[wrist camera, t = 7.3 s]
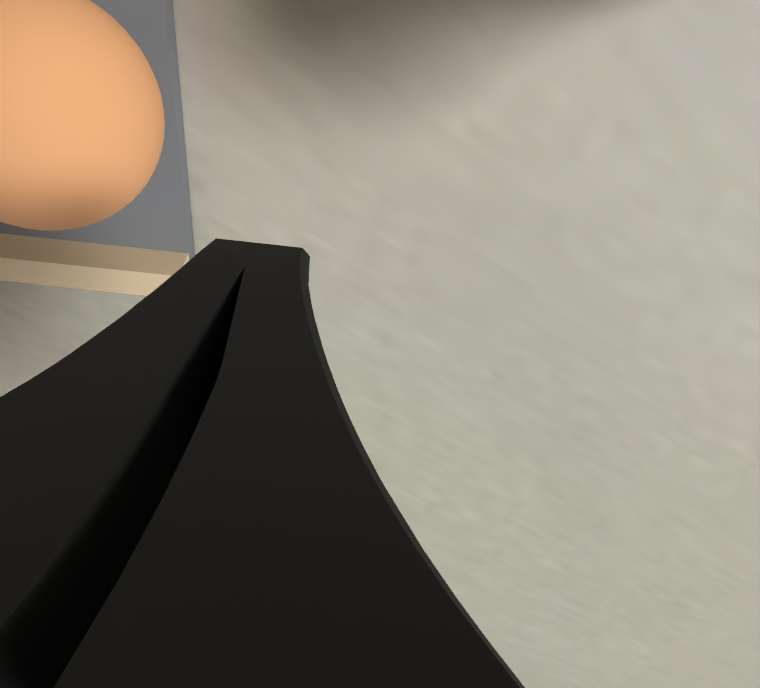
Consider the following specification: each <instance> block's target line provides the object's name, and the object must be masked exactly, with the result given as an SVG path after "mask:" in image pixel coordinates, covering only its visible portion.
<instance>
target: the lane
mask: <svg viewBox="0 0 760 688" xmlns="http://www.w3.org/2000/svg"><path fill="white" fill-rule="evenodd" d="M90 1H92V2H93V3H95V4H96V5H98V6H99V7H101V8H102V9H103V10H104V11H106V12H107V13H108V14H109V15H111V16H112V17H113V18H114V19H115V20H116V21H117V22H118V23H119V24H120V25H121V26H122V27H123V28H124V29H125V30H126V31H127V32H128V33H129V35H130V36H131V37H132V38H133V40H134V41H135V42H136V44H137V45H138V46H139V47H140V49H141V51H142V52H143V54H144V56H145V57H146V59H147V61H148V63H149V65H150V67H151V69H152V71H153V73H154V76H155V78H156V80H157V83H158V86H159V89H160V93H161V97H162V103H163V108H164V120H165V131H164V141H163V147H162V151H161V155H160V158H159V161H158V164H157V166H156V168H155V170H154V172H153V175H152V176H151V178H150V180H149V181H148V183H147V184H146V186H145V187H144V188H143V190H142V191H141V192H140V193H139V194H138V195H137V196H136V197H135V198H134V200H133V201H132V202H130V203H129V204H128V205H127V206H125V207H124V208H123V209H122V210H120V211H118V212H117V213H115V214H114V215H112V216H110V217H108V218H106V219H104V220H102V221H100V222H97V223H94V224H91V225H88V226H85V227H80V228H75V229H66V230H56V231H50V230H35V229H27V228H22V227H18V226H14V225H10V224H6V223H3V222H0V281H8V282H18V283H28V284H37V285H47V286H57V287H66V288H76V289H86V290H96V291H105V292H115V293H125V294H134V295H144V296H148V295H149V294H150V293H152V292H153V291H154V290H155V289H156V288H158V287H159V286H160V285H161V284H162V283H164V282H165V281H166V280H167V279H168V278H170V277H171V276H172V275H173V274H174V273H175V272H177V271H178V270H179V269H180V268H181V267H182V266H184V265H185V264H186V263H187V262H188V261H189V260H191V259H192V258H193V257H194V256H195V250H194V239H193V228H192V216H191V205H190V194H189V183H188V171H187V160H186V149H185V138H184V126H183V115H182V104H181V93H180V81H179V70H178V59H177V48H176V36H175V25H174V14H173V3H172V0H90Z"/></svg>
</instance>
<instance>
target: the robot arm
mask: <svg viewBox="0 0 760 688" xmlns="http://www.w3.org/2000/svg"><path fill="white" fill-rule="evenodd" d="M309 262H310V256H309V255H308V254H307V253H306V251H305V250H304V249H303V248H298V247H289V246H280V245H270V244H261V243H252V242H243V241H234V240H225V239H215V240H214V241H212V242H211V243H210V244H209V245H207V246H206V247H205V248H204V249H202V250H201V251H200V252H199V253H198V254H196V255H195V256H194V257H193V258H192V259H191V260H189V261H188V262H187V263H186V264H185V265H184V266H182V267H181V268H180V269H179V270H178V271H177V272H175V273H174V274H173V275H172V276H171V277H170V278H168V279H167V280H166V281H165V282H164V283H162V284H161V285H160V286H159V287H158V288H156V289H155V290H154V291H153V292H152V293H150V294H149V295H148V296H147V297H145V298H144V299H143V300H142V301H140V302H139V303H138V304H137V305H135V306H134V307H133V308H132V309H130V310H129V311H128V312H127V313H125V314H124V315H123V316H122V317H120V318H119V319H118V320H116V321H115V322H114V323H112V324H111V325H110V326H108V327H107V328H105V329H104V330H103V331H101V332H100V333H98V334H97V335H96V336H94V337H93V338H91V339H90V340H89V341H87V342H86V343H85V344H83V345H82V346H80V347H79V348H78V349H76V350H75V351H73V352H72V353H71V354H69V355H68V356H66V357H65V358H63V359H62V360H60V361H59V362H57V363H56V364H54V365H53V366H51V367H49V368H48V369H46V370H45V371H43V372H41V373H40V374H38V375H37V376H35V377H34V378H32V379H30V380H29V381H27V382H25V383H24V384H22V385H20V386H18V387H17V388H15V389H13V390H12V391H10V392H8V393H7V394H5V395H3V396H1V397H0V688H525V687H524V686H523V685H522V684H521V682H520V681H519V680H518V678H517V677H516V676H515V674H514V673H513V672H512V671H511V669H510V668H509V667H508V666H507V664H506V663H505V662H504V660H503V659H502V658H501V657H500V655H499V654H498V653H497V651H496V650H495V649H494V648H493V646H492V645H491V644H490V642H489V641H488V640H487V639H486V637H485V636H484V634H483V633H482V632H481V630H480V629H479V628H478V626H477V625H476V624H475V622H474V621H473V620H472V618H471V617H470V616H469V614H468V613H467V612H466V610H465V609H464V608H463V606H462V605H461V603H460V602H459V601H458V599H457V598H456V597H455V595H454V594H453V592H452V591H451V589H450V588H449V586H448V585H447V583H446V582H445V581H444V579H443V578H442V576H441V575H440V573H439V572H438V570H437V569H436V567H435V566H434V565H433V563H432V562H431V560H430V559H429V557H428V556H427V554H426V553H425V552H424V550H423V548H422V547H421V545H420V544H419V542H418V540H417V539H416V537H415V535H414V534H413V532H412V531H411V529H410V527H409V526H408V524H407V522H406V521H405V519H404V517H403V516H402V514H401V513H400V511H399V509H398V508H397V506H396V504H395V503H394V501H393V499H392V498H391V496H390V495H389V493H388V491H387V490H386V488H385V486H384V485H383V483H382V481H381V479H380V478H379V476H378V474H377V472H376V470H375V468H374V466H373V464H372V462H371V460H370V459H369V457H368V455H367V453H366V451H365V449H364V447H363V445H362V443H361V441H360V439H359V437H358V435H357V433H356V431H355V428H354V426H353V424H352V422H351V420H350V418H349V416H348V413H347V411H346V409H345V406H344V404H343V402H342V399H341V397H340V394H339V392H338V389H337V387H336V384H335V381H334V379H333V376H332V373H331V371H330V368H329V365H328V362H327V359H326V356H325V353H324V350H323V347H322V344H321V340H320V336H319V333H318V329H317V325H316V322H315V318H314V314H313V309H312V305H311V299H310V293H309V286H308V282H309Z"/></svg>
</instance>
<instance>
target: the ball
mask: <svg viewBox="0 0 760 688" xmlns="http://www.w3.org/2000/svg"><path fill="white" fill-rule="evenodd" d="M164 131H165V120H164V108H163V103H162V97H161V93H160V89H159V86H158V83H157V80H156V78H155V76H154V73H153V71H152V69H151V67H150V65H149V63H148V61H147V59H146V57H145V56H144V54H143V52H142V51H141V49H140V47H139V46H138V45H137V44H136V42H135V41H134V40H133V38H132V37H131V36H130V35H129V33H128V32H127V31H126V30H125V29H124V28H123V27H122V26H121V25H120V24H119V23H118V22H117V21H116V20H115V19H114V18H113V17H112V16H111V15H109V14H108V13H107V12H106V11H104V10H103V9H102V8H101V7H99V6H98V5H96V4H95V3H93V2H92V1H90V0H0V222H3V223H6V224H10V225H14V226H18V227H22V228H27V229H35V230H50V231H56V230H66V229H75V228H80V227H85V226H88V225H91V224H94V223H97V222H100V221H102V220H104V219H106V218H108V217H110V216H112V215H114V214H115V213H117V212H118V211H120V210H122V209H123V208H124V207H125V206H127V205H128V204H129V203H130V202H132V201H133V200H134V198H135V197H136V196H137V195H138V194H139V193H140V192H141V191H142V190H143V188H144V187H145V186H146V184H147V183H148V181H149V180H150V178H151V176H152V175H153V172H154V170H155V168H156V166H157V164H158V161H159V158H160V155H161V151H162V147H163V141H164Z"/></svg>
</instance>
